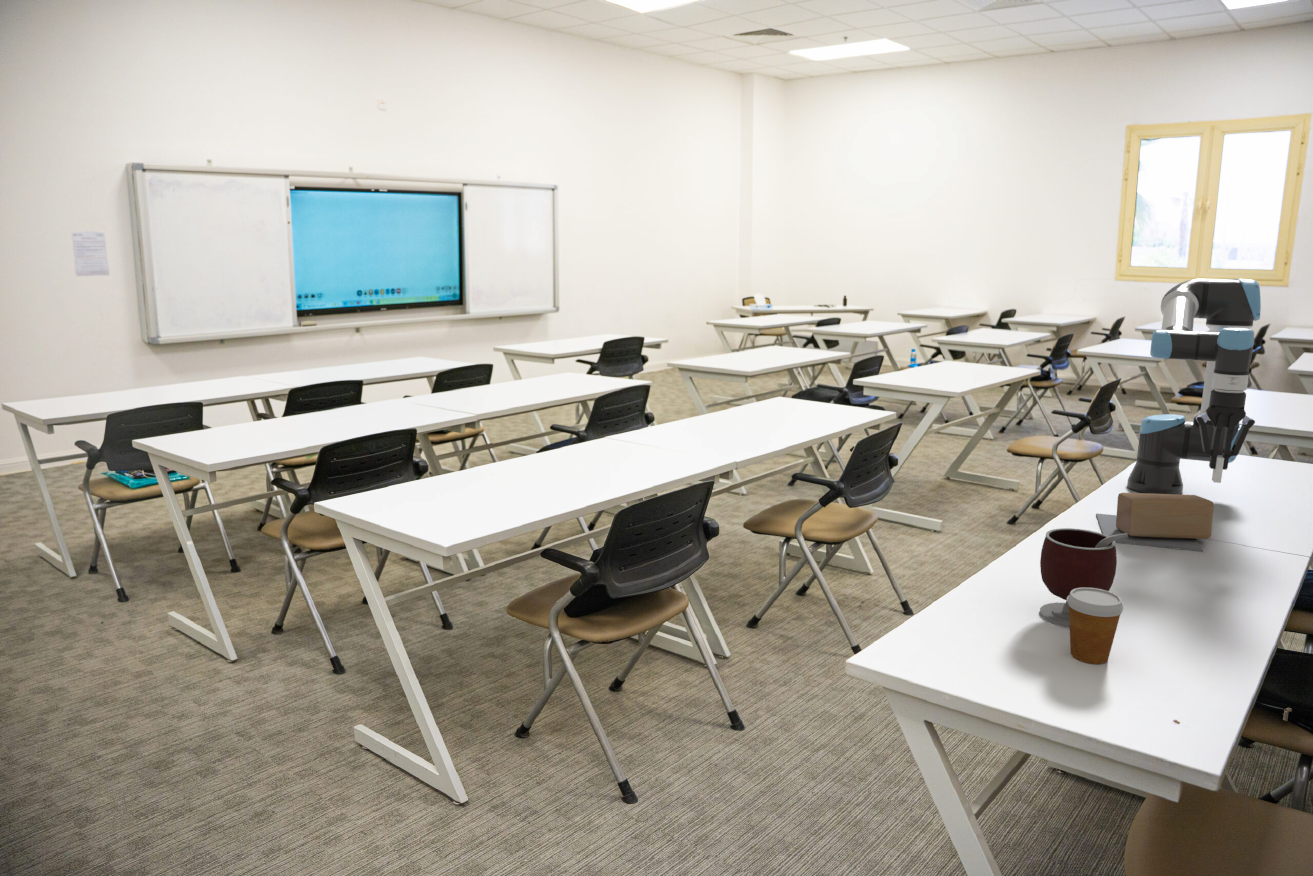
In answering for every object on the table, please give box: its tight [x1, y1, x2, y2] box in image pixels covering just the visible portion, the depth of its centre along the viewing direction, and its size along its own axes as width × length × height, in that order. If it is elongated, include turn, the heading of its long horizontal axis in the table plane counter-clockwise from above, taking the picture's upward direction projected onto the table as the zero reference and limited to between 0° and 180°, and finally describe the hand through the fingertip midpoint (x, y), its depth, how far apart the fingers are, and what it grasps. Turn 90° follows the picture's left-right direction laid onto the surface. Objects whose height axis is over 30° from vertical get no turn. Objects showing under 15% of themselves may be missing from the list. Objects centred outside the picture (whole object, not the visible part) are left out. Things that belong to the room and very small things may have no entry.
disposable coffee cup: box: [1067, 587, 1125, 665], centre depth 164 cm, size 10×10×12 cm
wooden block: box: [1116, 492, 1215, 540], centre depth 230 cm, size 10×10×20 cm
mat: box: [1095, 512, 1204, 552], centre depth 235 cm, size 24×22×1 cm
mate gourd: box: [1039, 527, 1128, 629], centre depth 180 cm, size 16×14×20 cm
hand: (1216, 481), depth 227 cm, fingers closed
